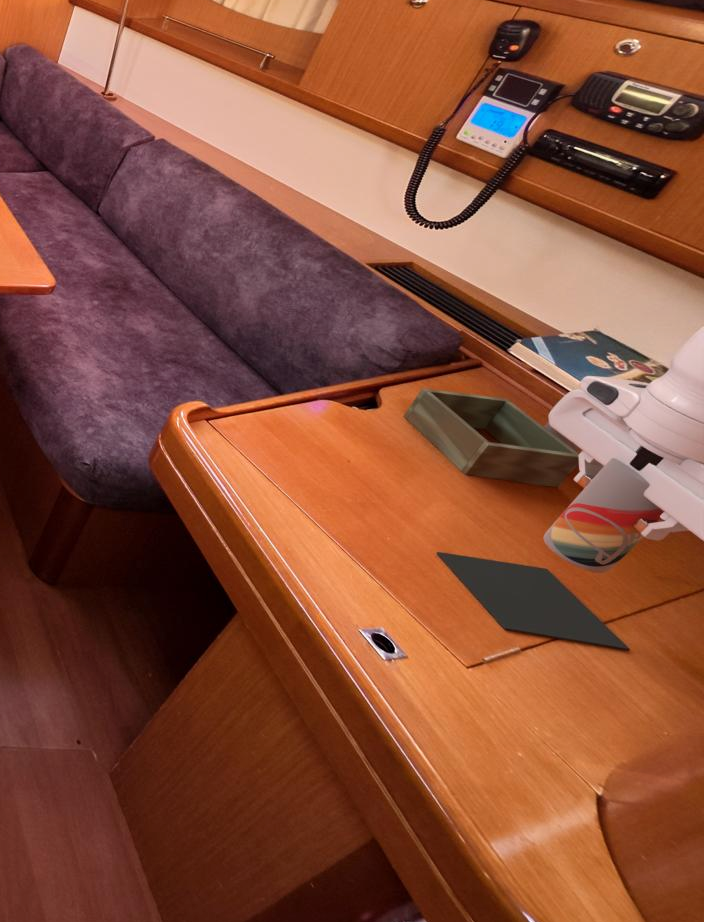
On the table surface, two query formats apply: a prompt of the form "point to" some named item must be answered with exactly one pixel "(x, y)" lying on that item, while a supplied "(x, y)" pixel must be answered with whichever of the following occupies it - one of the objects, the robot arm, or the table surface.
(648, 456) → the striped water bottle
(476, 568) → the mat
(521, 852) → the table surface
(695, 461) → the robot arm
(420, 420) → the basket
